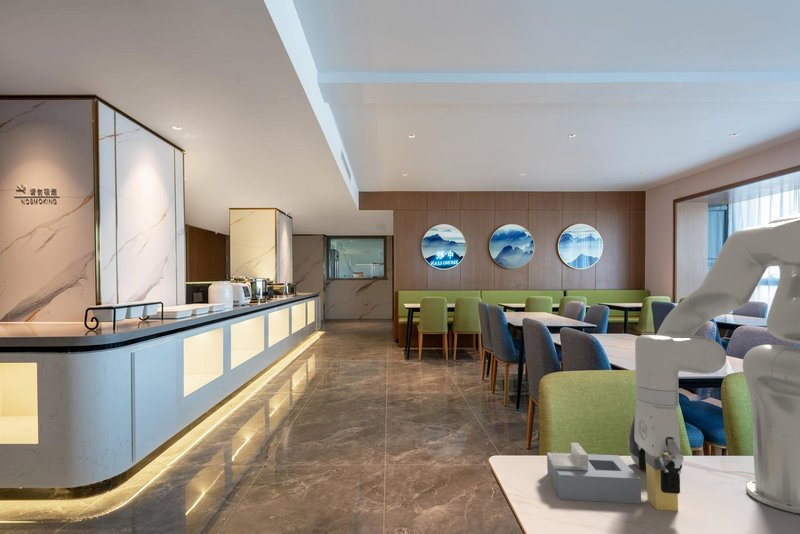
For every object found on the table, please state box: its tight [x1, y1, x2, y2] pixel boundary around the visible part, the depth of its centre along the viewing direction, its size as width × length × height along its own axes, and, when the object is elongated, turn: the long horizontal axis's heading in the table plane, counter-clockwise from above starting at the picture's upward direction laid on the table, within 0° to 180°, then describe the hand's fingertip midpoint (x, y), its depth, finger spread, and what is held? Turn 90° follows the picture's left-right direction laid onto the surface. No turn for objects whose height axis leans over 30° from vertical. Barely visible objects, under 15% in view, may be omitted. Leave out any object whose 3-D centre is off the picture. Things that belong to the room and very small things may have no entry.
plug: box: [645, 451, 679, 512], centre depth 85 cm, size 4×4×10 cm
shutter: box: [546, 442, 588, 471], centre depth 93 cm, size 7×7×3 cm
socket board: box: [546, 452, 642, 505], centre depth 92 cm, size 16×12×5 cm
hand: (658, 480), depth 85 cm, fingers open, 9 cm apart
